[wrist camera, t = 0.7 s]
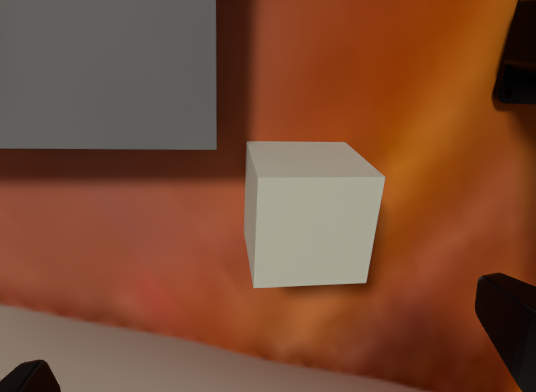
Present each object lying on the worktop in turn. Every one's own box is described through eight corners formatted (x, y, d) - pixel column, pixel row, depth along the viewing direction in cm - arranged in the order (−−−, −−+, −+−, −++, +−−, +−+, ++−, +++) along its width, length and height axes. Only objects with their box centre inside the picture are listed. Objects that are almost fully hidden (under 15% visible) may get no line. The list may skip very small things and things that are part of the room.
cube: (344, 141, 20) (385, 177, 15) (333, 228, 22) (366, 282, 17) (246, 140, 19) (258, 177, 14) (243, 230, 21) (253, 287, 16)
